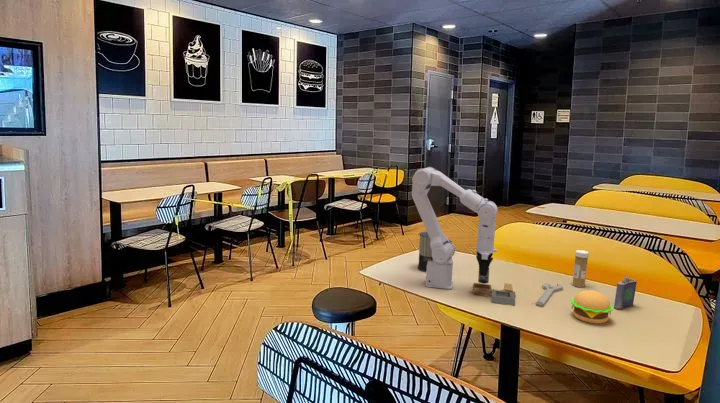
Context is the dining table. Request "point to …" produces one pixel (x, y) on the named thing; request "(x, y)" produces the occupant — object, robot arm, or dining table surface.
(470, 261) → the dining table surface
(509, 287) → the bar
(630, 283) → the flask
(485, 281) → the grey knob
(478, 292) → the brown square tray
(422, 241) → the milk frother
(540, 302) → the adjustable wrench
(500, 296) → the socket block
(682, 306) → the dining table surface
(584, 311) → the hamburger
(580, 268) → the sprinkles bottle
